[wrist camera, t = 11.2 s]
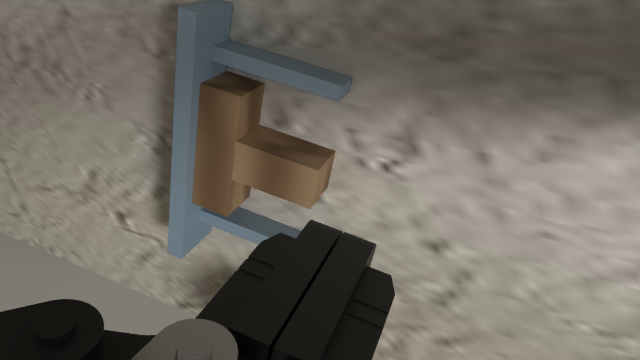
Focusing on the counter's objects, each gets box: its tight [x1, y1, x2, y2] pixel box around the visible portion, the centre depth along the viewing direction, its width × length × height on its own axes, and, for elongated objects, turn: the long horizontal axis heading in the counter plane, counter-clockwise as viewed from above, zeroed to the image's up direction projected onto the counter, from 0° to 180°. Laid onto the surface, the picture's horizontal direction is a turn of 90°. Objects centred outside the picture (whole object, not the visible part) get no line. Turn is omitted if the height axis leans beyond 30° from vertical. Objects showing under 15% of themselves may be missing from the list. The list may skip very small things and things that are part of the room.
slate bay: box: [168, 0, 352, 259], centre depth 41 cm, size 12×22×5 cm, turn 169°
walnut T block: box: [192, 71, 335, 217], centre depth 41 cm, size 10×11×4 cm
